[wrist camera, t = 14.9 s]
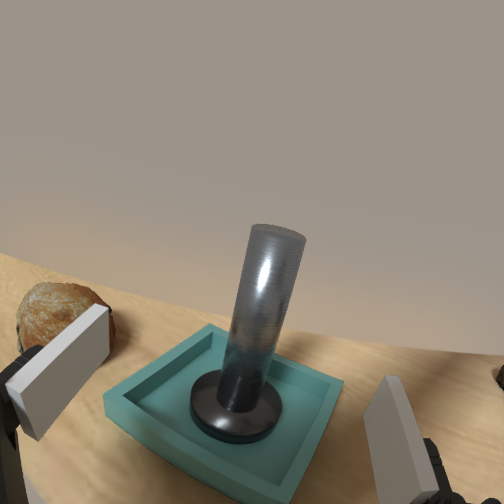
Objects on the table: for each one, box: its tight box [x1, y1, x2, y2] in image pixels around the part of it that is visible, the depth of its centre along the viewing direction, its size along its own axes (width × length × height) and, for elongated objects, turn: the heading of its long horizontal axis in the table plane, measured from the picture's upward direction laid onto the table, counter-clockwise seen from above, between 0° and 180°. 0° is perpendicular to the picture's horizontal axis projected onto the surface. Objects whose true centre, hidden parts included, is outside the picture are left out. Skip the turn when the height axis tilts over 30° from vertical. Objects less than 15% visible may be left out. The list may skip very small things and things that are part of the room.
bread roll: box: [16, 282, 116, 353], centre depth 25 cm, size 10×10×8 cm
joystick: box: [189, 224, 306, 445], centre depth 21 cm, size 7×7×14 cm
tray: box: [103, 323, 344, 504], centre depth 23 cm, size 14×14×2 cm
